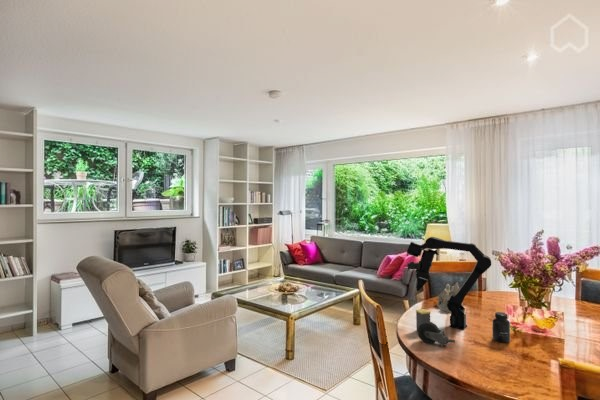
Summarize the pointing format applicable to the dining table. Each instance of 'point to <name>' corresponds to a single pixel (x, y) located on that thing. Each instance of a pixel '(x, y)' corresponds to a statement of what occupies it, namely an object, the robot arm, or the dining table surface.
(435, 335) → the caster wheel
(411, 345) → the dining table surface
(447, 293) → the ceramic cottage
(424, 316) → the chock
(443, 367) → the dining table surface
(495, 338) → the supplement bottle
